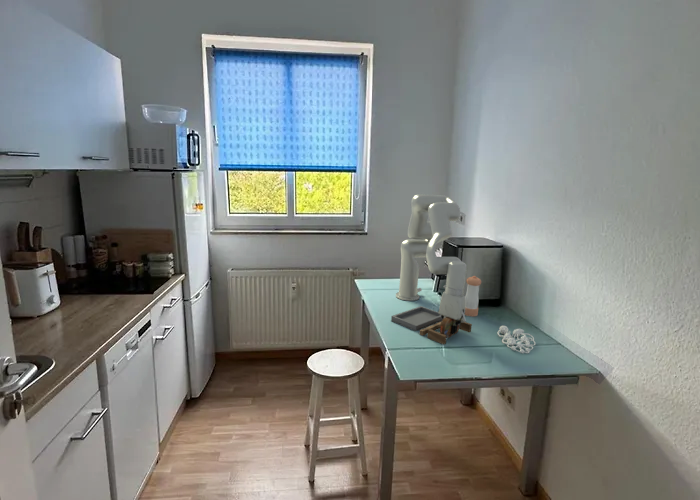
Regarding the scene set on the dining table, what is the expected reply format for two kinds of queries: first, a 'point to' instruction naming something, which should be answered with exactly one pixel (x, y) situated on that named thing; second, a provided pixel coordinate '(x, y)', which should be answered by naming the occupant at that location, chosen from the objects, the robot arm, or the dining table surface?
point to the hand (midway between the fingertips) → (450, 331)
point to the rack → (438, 336)
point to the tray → (417, 318)
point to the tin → (448, 327)
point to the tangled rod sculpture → (512, 341)
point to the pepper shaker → (472, 296)
